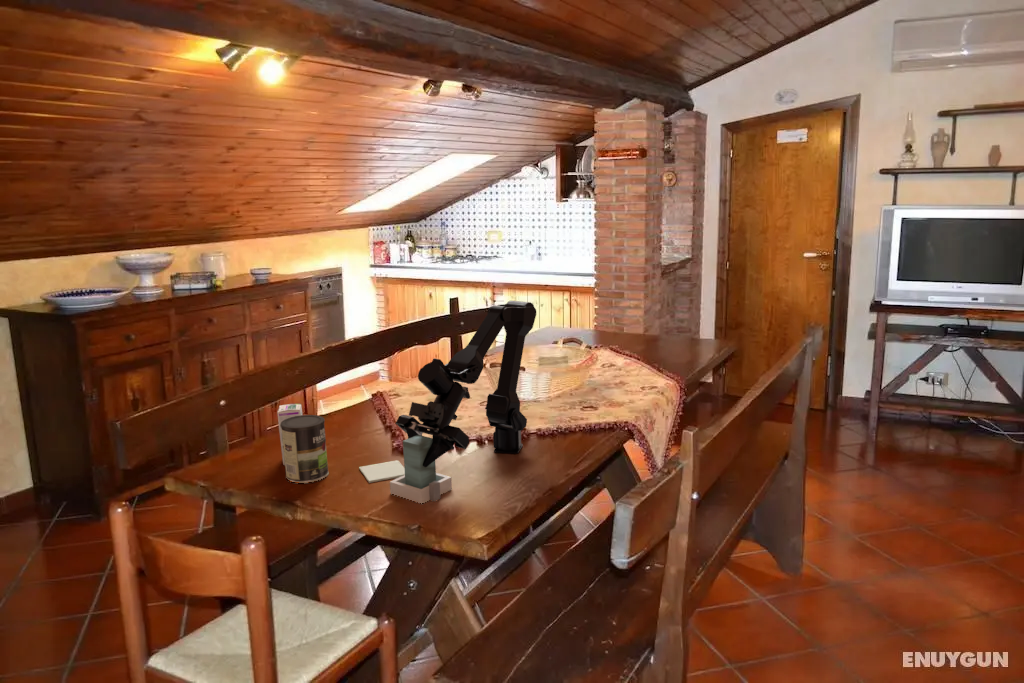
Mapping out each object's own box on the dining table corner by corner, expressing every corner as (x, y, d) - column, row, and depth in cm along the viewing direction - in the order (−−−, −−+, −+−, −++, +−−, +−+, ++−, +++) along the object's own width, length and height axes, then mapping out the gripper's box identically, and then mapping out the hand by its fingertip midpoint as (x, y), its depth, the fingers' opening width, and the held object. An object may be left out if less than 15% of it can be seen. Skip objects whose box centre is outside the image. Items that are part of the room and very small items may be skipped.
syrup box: (306, 463, 202) (301, 409, 198) (282, 465, 200) (276, 411, 197) (307, 455, 207) (302, 402, 204) (283, 457, 206) (278, 404, 203)
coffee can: (335, 468, 198) (331, 414, 194) (318, 485, 188) (313, 428, 185) (296, 467, 199) (291, 413, 196) (278, 483, 189) (272, 427, 186)
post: (420, 483, 185) (418, 434, 183) (436, 487, 182) (434, 438, 180) (405, 490, 182) (402, 440, 179) (421, 495, 179) (418, 445, 176)
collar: (420, 479, 189) (419, 464, 188) (456, 490, 182) (455, 474, 181) (390, 494, 181) (389, 477, 180) (426, 505, 174) (425, 488, 174)
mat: (397, 461, 201) (397, 460, 201) (409, 475, 192) (409, 473, 192) (359, 468, 197) (359, 467, 197) (369, 482, 188) (369, 480, 188)
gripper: (398, 381, 185) (366, 439, 179) (458, 393, 174) (427, 456, 168) (423, 405, 193) (393, 461, 187) (482, 418, 182) (453, 478, 176)
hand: (415, 464), depth 180 cm, fingers closed on post, 5 cm apart
